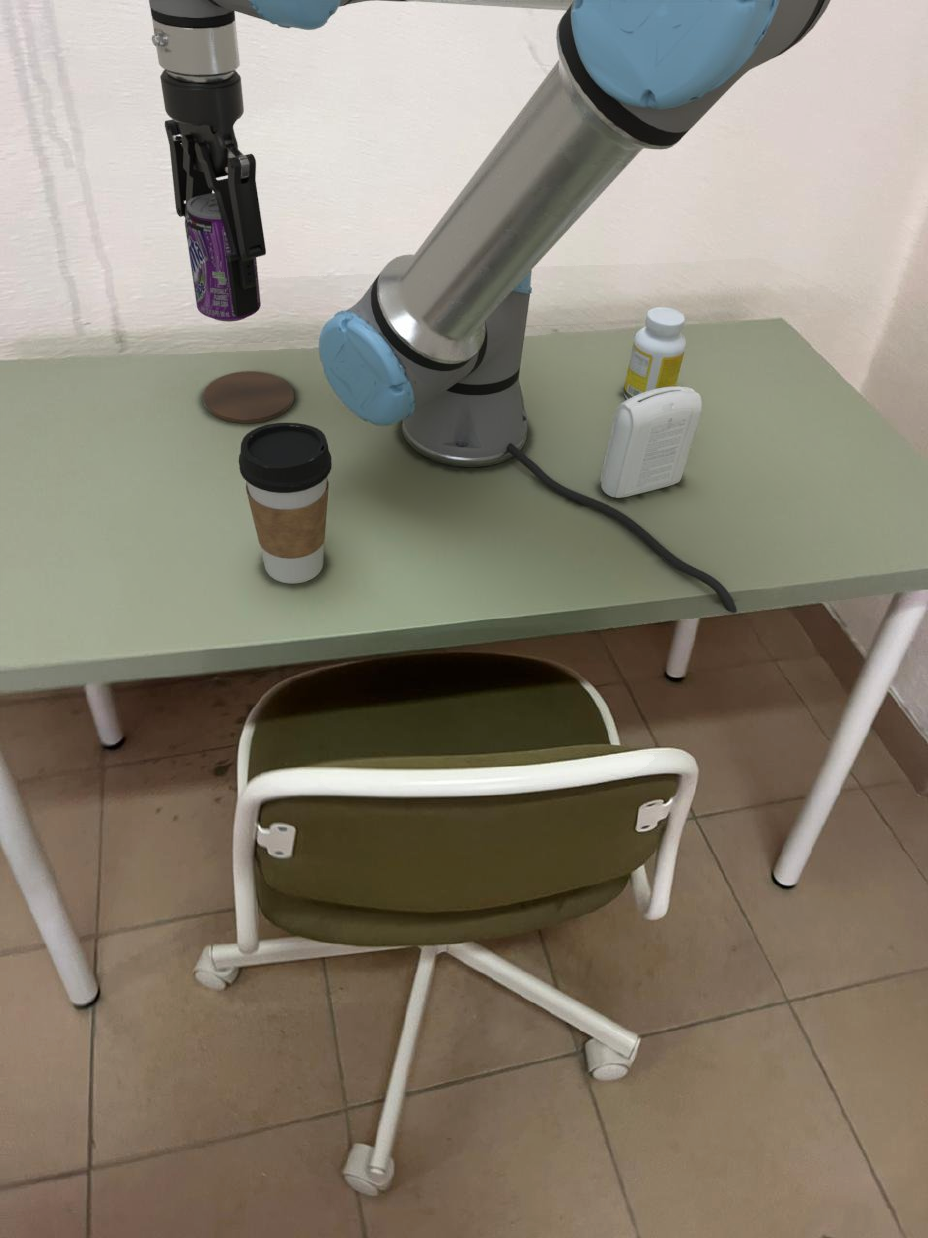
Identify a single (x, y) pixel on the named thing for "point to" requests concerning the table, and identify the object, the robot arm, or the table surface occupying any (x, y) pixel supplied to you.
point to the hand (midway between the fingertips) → (228, 298)
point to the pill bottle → (656, 352)
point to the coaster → (248, 397)
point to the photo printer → (650, 441)
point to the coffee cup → (288, 496)
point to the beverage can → (211, 259)
